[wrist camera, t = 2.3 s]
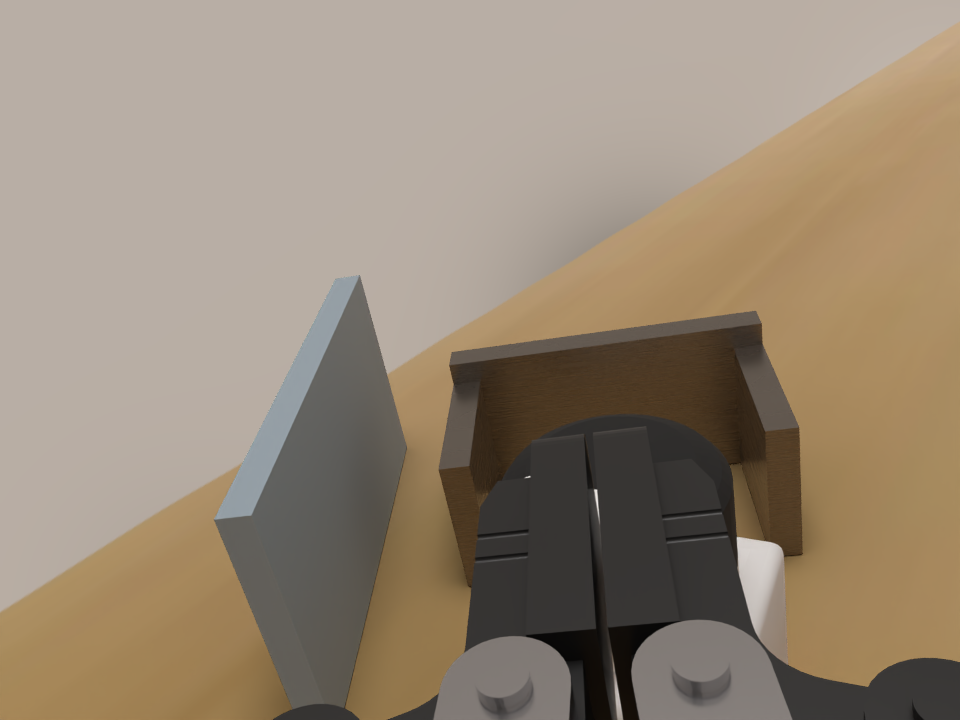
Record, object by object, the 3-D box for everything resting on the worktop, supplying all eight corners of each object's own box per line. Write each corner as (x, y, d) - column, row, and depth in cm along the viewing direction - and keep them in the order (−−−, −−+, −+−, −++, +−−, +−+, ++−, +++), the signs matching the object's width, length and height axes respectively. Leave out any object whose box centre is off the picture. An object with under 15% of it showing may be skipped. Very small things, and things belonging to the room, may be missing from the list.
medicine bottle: (588, 658, 33) (536, 377, 27) (792, 707, 30) (781, 397, 24) (506, 831, 28) (421, 527, 22) (743, 916, 24) (713, 580, 19)
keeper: (468, 586, 37) (433, 448, 34) (480, 476, 44) (451, 352, 41) (802, 553, 35) (798, 404, 32) (762, 444, 42) (755, 310, 39)
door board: (305, 739, 32) (213, 519, 27) (384, 450, 48) (335, 279, 43) (337, 736, 32) (251, 515, 27) (406, 447, 48) (359, 275, 43)
